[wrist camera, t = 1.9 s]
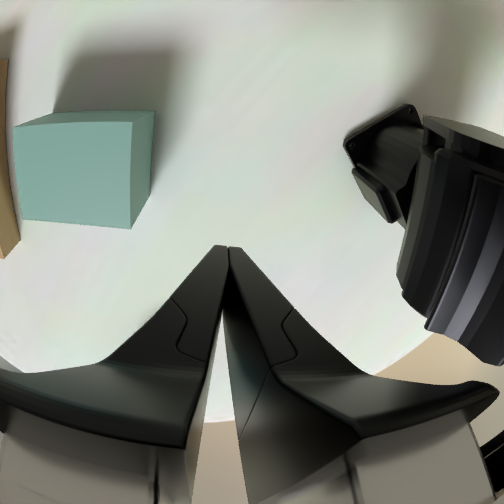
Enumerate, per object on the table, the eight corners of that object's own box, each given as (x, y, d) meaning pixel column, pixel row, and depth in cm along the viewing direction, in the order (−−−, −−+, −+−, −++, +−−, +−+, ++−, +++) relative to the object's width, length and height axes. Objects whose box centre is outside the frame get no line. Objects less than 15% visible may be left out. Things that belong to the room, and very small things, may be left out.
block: (155, 111, 16) (132, 121, 12) (150, 195, 19) (130, 229, 15) (53, 112, 15) (12, 127, 11) (56, 189, 18) (22, 219, 14)
